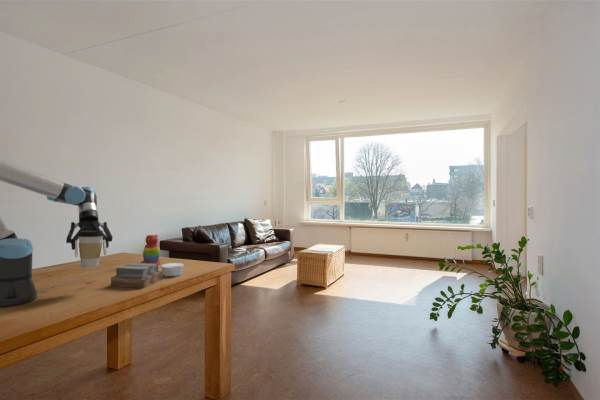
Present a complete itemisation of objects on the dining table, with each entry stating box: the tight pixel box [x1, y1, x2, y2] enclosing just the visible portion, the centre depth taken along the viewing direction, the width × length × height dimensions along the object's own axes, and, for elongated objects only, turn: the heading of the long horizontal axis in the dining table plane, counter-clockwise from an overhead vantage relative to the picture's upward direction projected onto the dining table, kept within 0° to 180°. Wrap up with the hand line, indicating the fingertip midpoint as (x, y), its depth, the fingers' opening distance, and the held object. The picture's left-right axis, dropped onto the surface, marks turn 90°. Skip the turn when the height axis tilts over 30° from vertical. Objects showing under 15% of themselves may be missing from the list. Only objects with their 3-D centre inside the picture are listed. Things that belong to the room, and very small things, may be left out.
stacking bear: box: [139, 234, 161, 266], centre depth 199 cm, size 11×10×18 cm
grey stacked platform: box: [110, 262, 164, 289], centre depth 159 cm, size 16×16×8 cm
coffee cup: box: [78, 229, 105, 268], centre depth 144 cm, size 10×10×15 cm
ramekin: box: [160, 262, 185, 277], centre depth 176 cm, size 11×11×5 cm
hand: (91, 254), depth 142 cm, fingers closed on coffee cup, 10 cm apart
